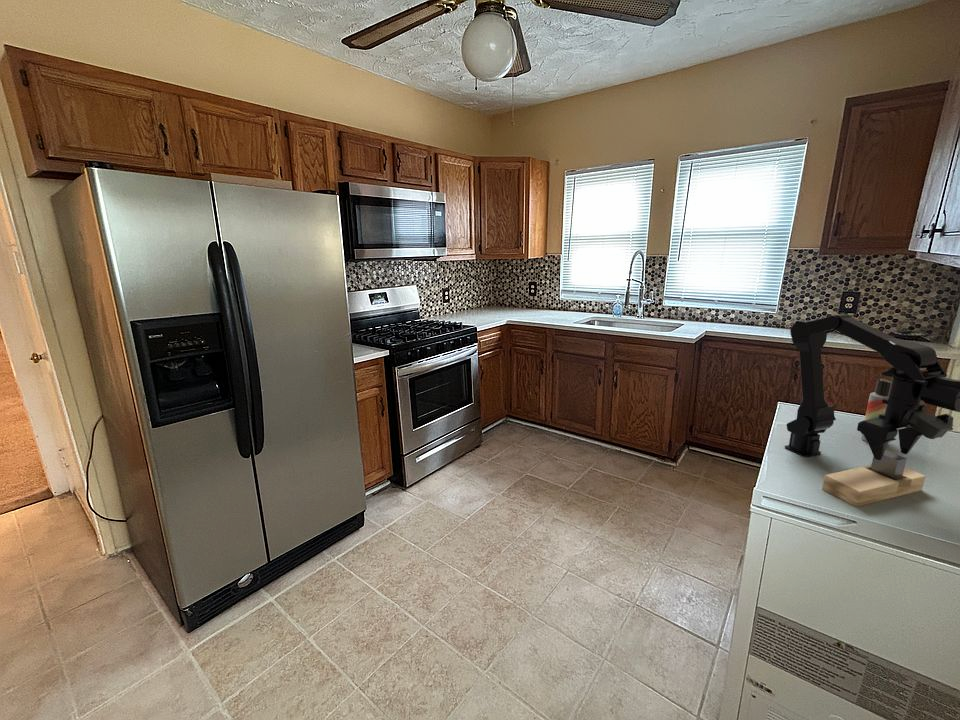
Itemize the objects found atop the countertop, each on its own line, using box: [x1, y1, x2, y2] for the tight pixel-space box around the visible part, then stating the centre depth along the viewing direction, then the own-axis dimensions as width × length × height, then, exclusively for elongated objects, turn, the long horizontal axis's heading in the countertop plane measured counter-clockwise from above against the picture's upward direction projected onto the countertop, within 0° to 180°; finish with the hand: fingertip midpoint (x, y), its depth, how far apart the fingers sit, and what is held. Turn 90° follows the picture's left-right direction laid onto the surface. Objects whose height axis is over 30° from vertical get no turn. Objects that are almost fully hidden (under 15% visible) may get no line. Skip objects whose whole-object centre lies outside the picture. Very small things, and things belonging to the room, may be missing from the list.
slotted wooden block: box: [821, 464, 927, 508], centre depth 106 cm, size 8×22×4 cm, turn 105°
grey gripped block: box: [870, 449, 908, 481], centre depth 106 cm, size 5×3×8 cm, turn 15°
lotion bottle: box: [860, 378, 892, 443], centre depth 129 cm, size 6×6×20 cm
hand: (891, 456), depth 105 cm, fingers open, 9 cm apart
